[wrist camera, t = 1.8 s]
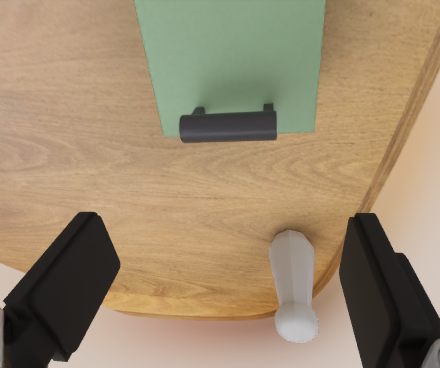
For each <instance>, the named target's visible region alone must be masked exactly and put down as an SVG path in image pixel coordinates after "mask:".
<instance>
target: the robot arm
mask: <svg viewBox="0 0 440 368" xmlns="http://www.w3.org/2000/svg"><path fill="white" fill-rule="evenodd" d="M119 269H120V260H119V258H118V256H117V253H116V251H115V249H114V246H113V244H112V241H111V239H110V237H109V234H108V232H107V230H106V227H105V225H104V223H103V220H102V218H101V217H100V216H98V215H97V213H96V212H79V213H78V214H77V215H76V216H75V217H74V218H73V219H72V221H71V222H70V223H69V224H68V225H67V226H66V228H65V229H64V230H63V231H62V232H61V234H60V235H59V236H58V237H57V238H56V239H55V241H54V242H53V243H52V244H51V245H50V246H49V248H48V249H47V250H46V251H45V252H44V253H43V255H42V256H41V257H40V258H39V259H38V260H37V262H36V263H35V264H34V265H33V266H32V268H31V269H30V270H29V271H28V272H27V273H26V275H25V276H24V277H23V278H22V279H21V280H20V282H19V283H18V284H17V285H16V286H15V287H14V289H13V290H12V291H11V292H10V293H9V294H8V296H7V297H6V298H5V299H4V300H3V301H4V302H5V304H6V306H5V307H4V308H3V309H1V308H0V368H48V364H49V362H50V360H51V359H53V360H54V361H62V362H68V360H69V358H70V356H71V354H72V353H73V352H75V351H76V350H77V349H78V347H79V345H80V343H81V341H82V340H83V338H84V336H85V334H86V332H87V330H88V328H89V326H90V324H91V322H92V321H93V319H94V317H95V315H96V313H97V311H98V309H99V307H100V305H101V304H102V302H103V300H104V298H105V296H106V294H107V292H108V290H109V288H110V287H111V285H112V283H113V281H114V279H115V277H116V275H117V273H118V271H119ZM339 276H340V281H341V285H342V289H343V293H344V296H345V300H346V304H347V308H348V312H349V316H350V320H351V323H352V327H353V331H354V335H355V338H356V342H357V346H358V350H359V354H360V358H361V361H362V366H363V368H440V318H439V316H438V314H437V312H436V311H435V309H434V307H433V305H432V304H431V301H430V299H429V298H428V296H427V294H426V292H425V290H424V288H423V286H422V285H421V283H420V281H419V279H418V277H417V275H416V273H415V271H414V270H413V268H412V266H411V264H410V262H409V260H408V259H407V257H406V256H405V255H404V254H403V253H395V252H394V250H393V248H392V246H391V244H390V242H389V240H388V238H387V236H386V234H385V232H384V230H383V228H382V226H381V224H380V222H379V220H378V218H377V216H376V214H374V213H356V214H355V216H354V217H350V218H349V220H348V226H347V231H346V236H345V242H344V247H343V252H342V258H341V263H340V268H339Z"/></svg>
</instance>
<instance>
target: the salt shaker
mask: <svg viewBox="0 0 440 368" xmlns="http://www.w3.org/2000/svg"><path fill="white" fill-rule="evenodd" d="M268 254H269V259H270V264H271V269H272V273H273V278H274V282H275V287H276V292H277V296H278V301H279V306H280V307H279V308H278V310H277V311H276V314H275V324H276V329H277V332H278V333H279V334H280V335H281V336H282V337H283V338H284V339H286V340H288V341H290V342H297V343H301V342H308V341H310V340H312V339H313V338H314V337H315V336H316V335H317V334H318V332H319V325H318V318H317V314H316V313H315V311H314V310H313V309H312V308H311V302H312V288H313V274H314V261H315V254H314V248H313V246H312V245H311V244H310V242H309V241H308V240H307V239H306V237H305V236H304V235H303V234H302V233H301V232H297V231H293V230H290V229H288V230H285V231H283V232H281V233H278V234H276V236H275V238H274V240H273V241H272V243H271V245H270V247H269V250H268Z"/></svg>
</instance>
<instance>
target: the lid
mask: <svg viewBox="0 0 440 368" xmlns="http://www.w3.org/2000/svg"><path fill="white" fill-rule="evenodd" d="M134 4H135V8H136V13H137V17H138V22H139V26H140V31H141V35H142V40H143V44H144V49H145V54H146V58H147V63H148V67H149V72H150V76H151V81H152V85H153V90H154V94H155V99H156V103H157V108H158V112H159V117H160V121H161V126H162V130H163V135H164V137H180V138H181V140H182V142H183V143H200V142H234V141H268V140H276V139H277V133H307V132H314V129H315V118H316V106H317V95H318V83H319V72H320V61H321V49H322V38H323V26H324V15H325V4H326V0H134Z"/></svg>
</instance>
